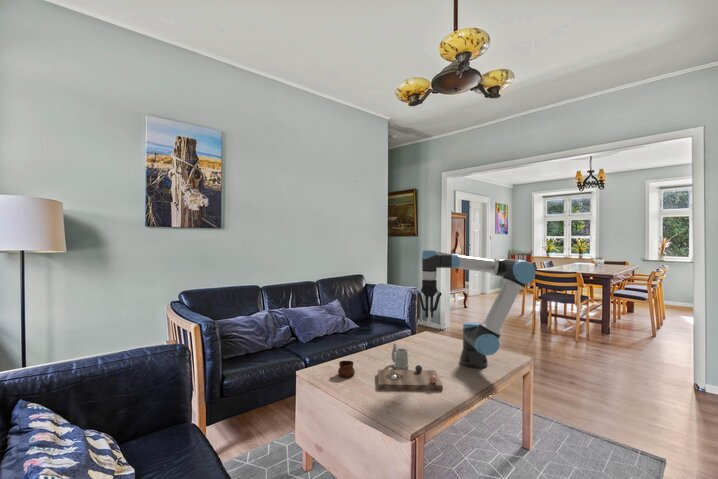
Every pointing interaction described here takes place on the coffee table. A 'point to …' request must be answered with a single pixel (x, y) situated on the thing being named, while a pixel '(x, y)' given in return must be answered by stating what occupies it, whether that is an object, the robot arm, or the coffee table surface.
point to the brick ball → (433, 379)
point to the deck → (408, 380)
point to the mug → (400, 358)
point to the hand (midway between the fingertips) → (429, 323)
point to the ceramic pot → (346, 369)
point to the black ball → (418, 368)
